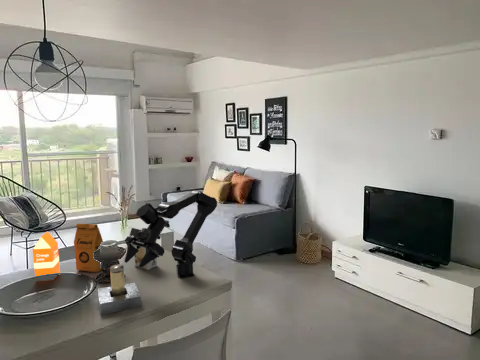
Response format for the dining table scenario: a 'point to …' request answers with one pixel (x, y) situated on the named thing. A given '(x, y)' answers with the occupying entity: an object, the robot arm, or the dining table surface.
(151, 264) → the coffee box
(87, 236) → the coffee package
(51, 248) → the orange juice
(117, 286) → the brass plug
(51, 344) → the dining table surface
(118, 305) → the bore housing
